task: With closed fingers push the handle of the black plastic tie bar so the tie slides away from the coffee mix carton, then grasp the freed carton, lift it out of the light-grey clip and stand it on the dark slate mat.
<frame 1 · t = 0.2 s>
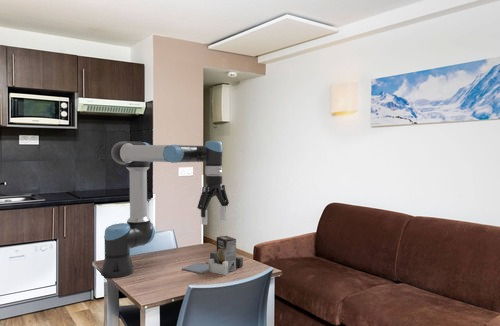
hand: (213, 222, 170), 28 cm above the table, fingers open, 13 cm apart
coffee box: (226, 269, 190), on the table
tie bar: (226, 259, 198), point 3 cm above the table, slide at 0.0 cm
clip jaw: (218, 272, 184), on the table
mat: (200, 268, 191), on the table
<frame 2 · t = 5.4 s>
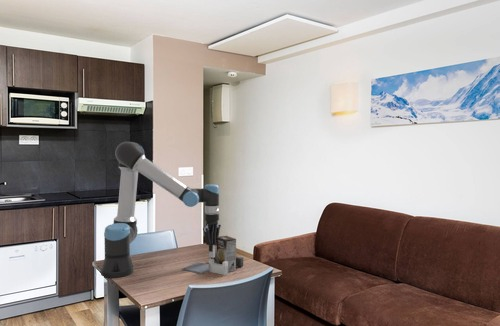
hand: (212, 257, 201), 3 cm above the table, fingers closed
tie bar: (226, 259, 199), point 3 cm above the table, slide at 0.5 cm, touching gripper
everything else where it was.
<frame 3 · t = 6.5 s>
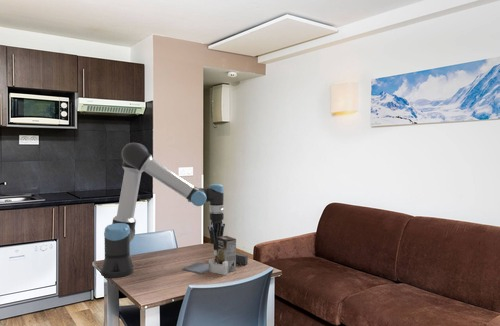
hand: (216, 255, 205), 3 cm above the table, fingers closed
tie bar: (231, 257, 202), point 3 cm above the table, slide at 4.7 cm, touching gripper
everything else where it was.
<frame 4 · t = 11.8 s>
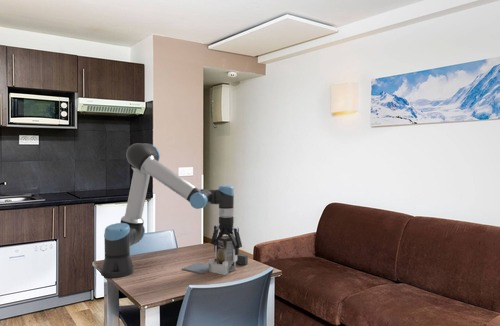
hand: (226, 259, 190), 5 cm above the table, fingers closed on coffee box, 10 cm apart
coffee box: (226, 269, 190), on the table, touching gripper
tie bar: (231, 257, 202), point 3 cm above the table, slide at 4.8 cm
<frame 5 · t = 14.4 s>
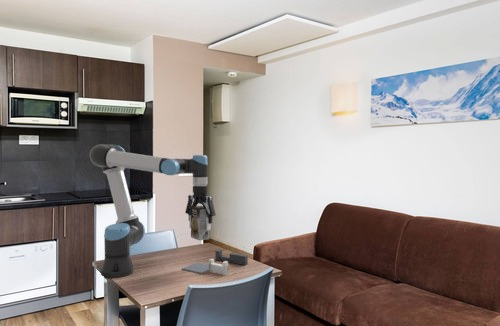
hand: (200, 228, 191), 20 cm above the table, fingers closed on coffee box, 10 cm apart
coffee box: (200, 238, 191), point 15 cm above the table, touching gripper
everything else where it was.
when the fingers open (7 cm above the table, at t = 17.4 s): coffee box drops 1 cm, resting on mat.
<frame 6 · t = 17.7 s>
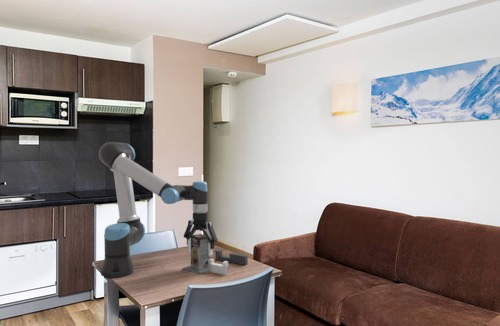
hand: (200, 253, 191), 8 cm above the table, fingers open, 13 cm apart
coffee box: (200, 267, 191), resting on mat
everything else where it was.
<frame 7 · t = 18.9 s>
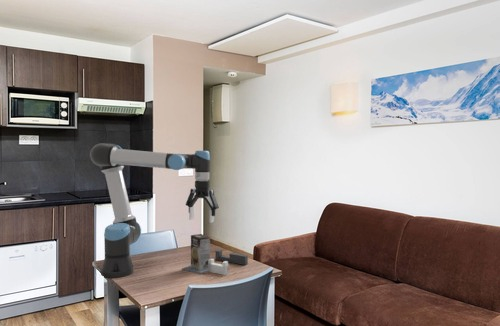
hand: (201, 220, 195), 24 cm above the table, fingers open, 13 cm apart
nothing on the table moved.
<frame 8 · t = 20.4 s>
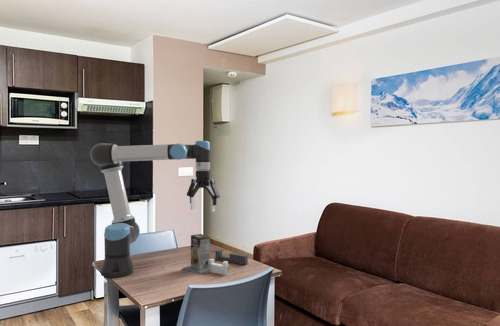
hand: (202, 210, 197), 29 cm above the table, fingers open, 13 cm apart
nothing on the table moved.
at the end: tie bar slide at 4.8 cm; coffee box 0.1 cm from the mat (horizontally); coffee box tilted 0° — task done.
